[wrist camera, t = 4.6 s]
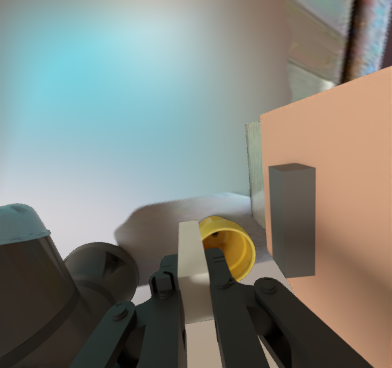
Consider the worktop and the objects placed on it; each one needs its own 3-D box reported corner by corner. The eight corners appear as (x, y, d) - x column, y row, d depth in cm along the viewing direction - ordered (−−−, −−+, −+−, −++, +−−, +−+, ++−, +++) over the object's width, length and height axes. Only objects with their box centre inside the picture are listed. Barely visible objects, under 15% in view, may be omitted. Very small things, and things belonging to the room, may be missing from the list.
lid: (275, 247, 30) (250, 250, 30) (269, 113, 26) (241, 117, 26) (402, 428, 11) (336, 433, 11) (458, 49, 7) (352, 64, 7)
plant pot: (246, 239, 42) (266, 268, 32) (203, 262, 42) (209, 297, 32) (225, 197, 39) (240, 215, 30) (179, 221, 40) (179, 247, 30)
